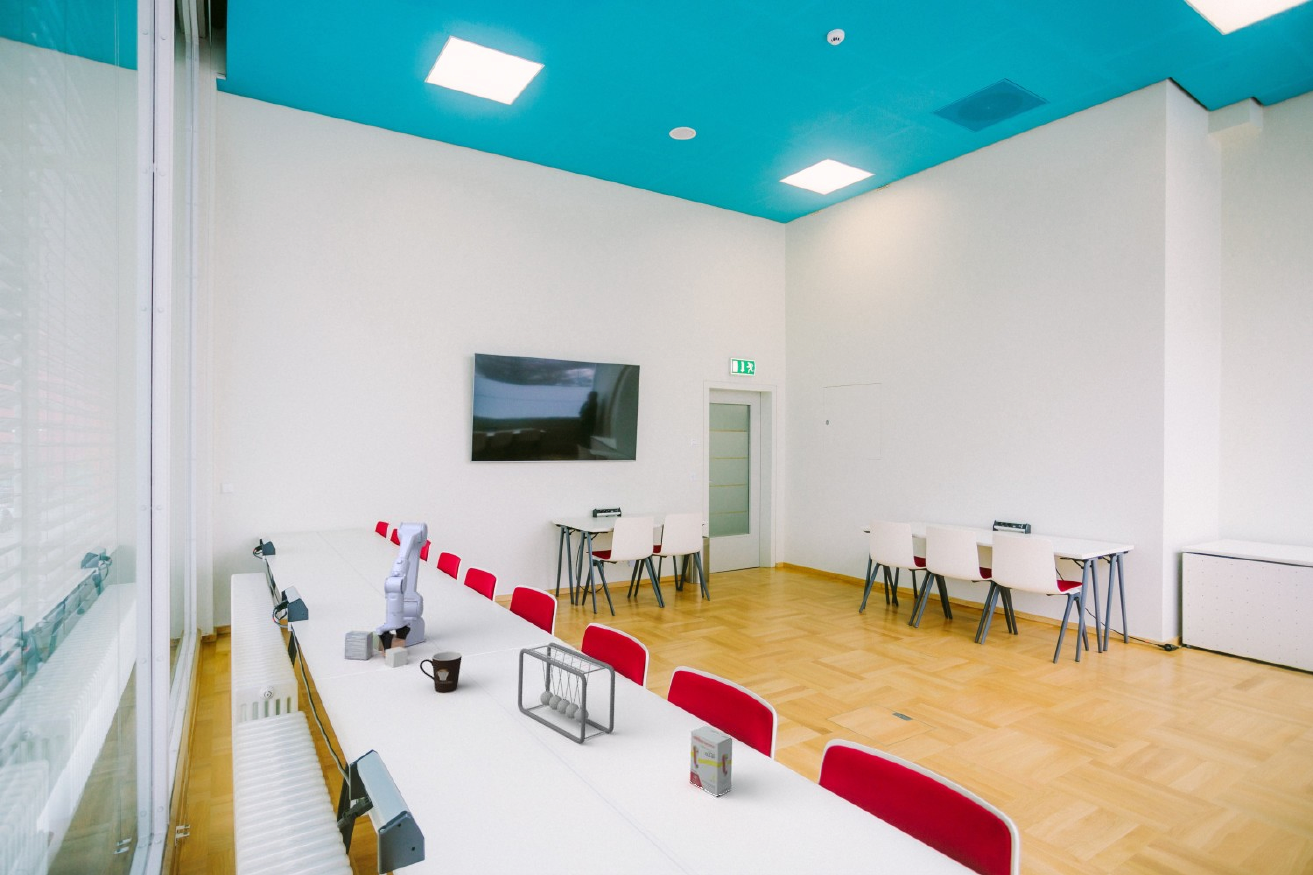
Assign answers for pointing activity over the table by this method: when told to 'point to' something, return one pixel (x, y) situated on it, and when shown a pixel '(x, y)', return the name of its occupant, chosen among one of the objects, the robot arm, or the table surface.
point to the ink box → (711, 760)
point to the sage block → (375, 640)
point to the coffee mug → (445, 671)
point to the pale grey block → (396, 657)
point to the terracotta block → (396, 644)
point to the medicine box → (359, 645)
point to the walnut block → (382, 644)
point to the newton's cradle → (565, 705)
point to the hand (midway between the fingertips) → (393, 650)
